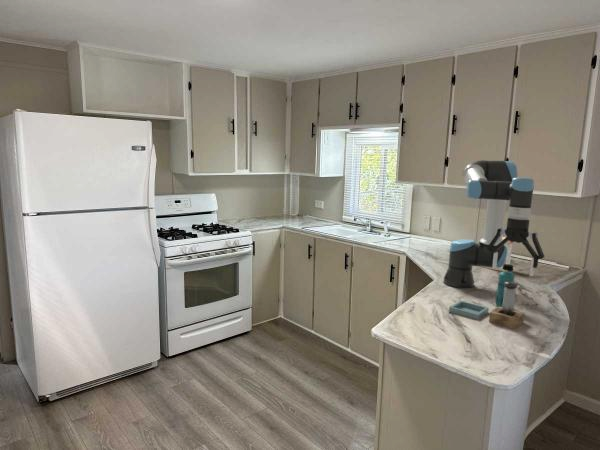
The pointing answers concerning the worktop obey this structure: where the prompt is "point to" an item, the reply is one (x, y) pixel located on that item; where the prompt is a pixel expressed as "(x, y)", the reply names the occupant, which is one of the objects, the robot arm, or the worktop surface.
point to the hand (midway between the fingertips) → (512, 272)
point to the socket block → (506, 318)
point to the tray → (468, 310)
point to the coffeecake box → (508, 258)
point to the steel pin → (509, 297)
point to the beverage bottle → (502, 278)
